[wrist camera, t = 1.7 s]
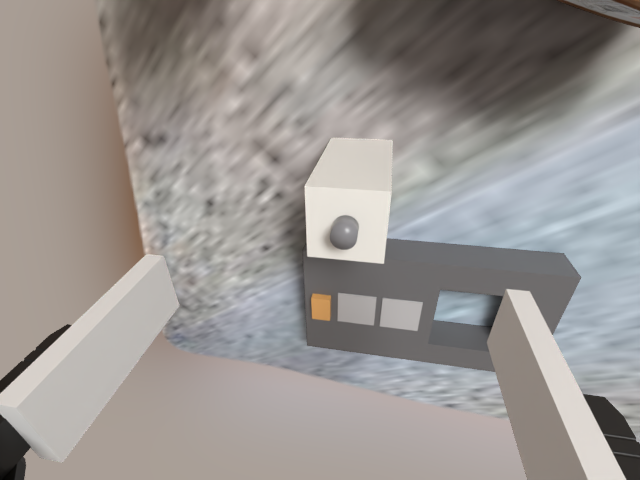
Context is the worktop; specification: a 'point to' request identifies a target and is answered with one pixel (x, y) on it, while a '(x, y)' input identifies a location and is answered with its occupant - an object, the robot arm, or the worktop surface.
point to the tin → (611, 9)
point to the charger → (350, 200)
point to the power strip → (425, 298)
